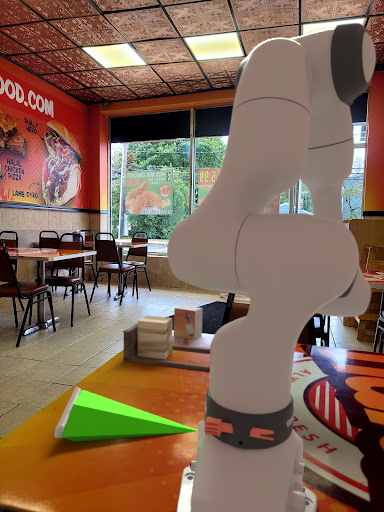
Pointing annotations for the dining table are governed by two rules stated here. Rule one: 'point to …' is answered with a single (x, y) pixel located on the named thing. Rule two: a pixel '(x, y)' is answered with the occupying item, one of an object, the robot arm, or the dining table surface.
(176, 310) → the small box
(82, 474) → the dining table surface
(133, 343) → the bay
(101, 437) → the paper cone
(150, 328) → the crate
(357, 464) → the dining table surface
